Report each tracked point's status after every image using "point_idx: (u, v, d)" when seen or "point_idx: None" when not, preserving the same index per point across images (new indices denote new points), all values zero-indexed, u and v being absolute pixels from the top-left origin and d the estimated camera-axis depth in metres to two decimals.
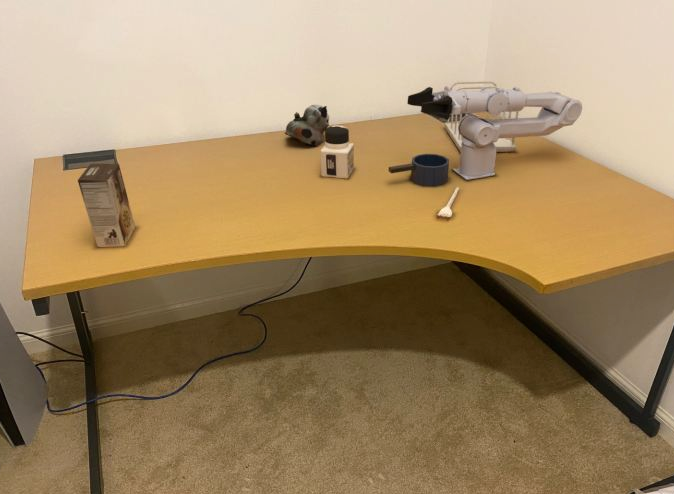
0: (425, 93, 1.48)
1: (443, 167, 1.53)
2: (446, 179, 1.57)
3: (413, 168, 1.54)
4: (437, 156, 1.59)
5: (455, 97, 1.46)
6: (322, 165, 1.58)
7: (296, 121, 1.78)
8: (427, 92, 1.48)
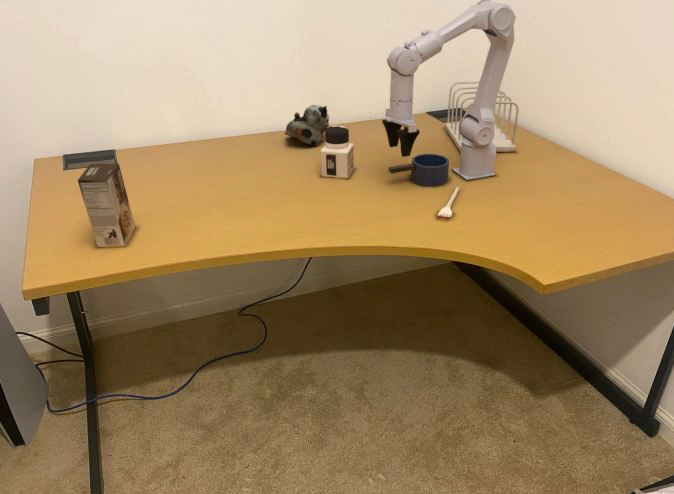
0: (388, 130, 1.51)
1: (443, 167, 1.53)
2: (446, 179, 1.57)
3: (413, 168, 1.54)
4: (437, 156, 1.59)
5: (397, 115, 1.43)
6: (322, 165, 1.58)
7: (296, 121, 1.78)
8: (387, 128, 1.50)
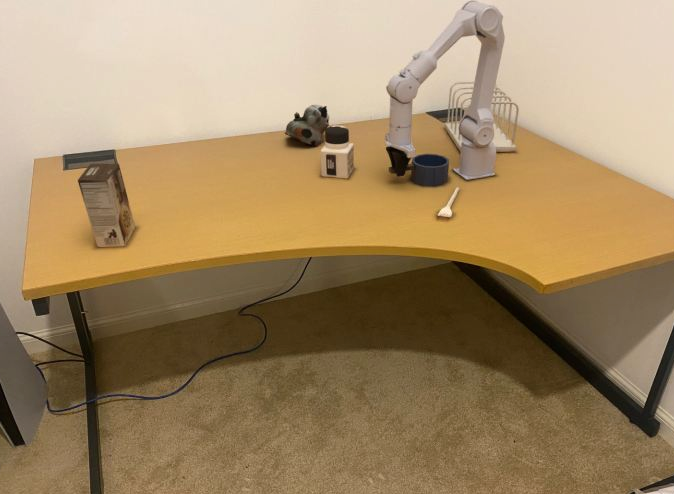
0: (392, 157, 1.52)
1: (443, 167, 1.53)
2: (446, 179, 1.57)
3: (413, 168, 1.54)
4: (437, 156, 1.59)
5: (397, 140, 1.47)
6: (322, 165, 1.58)
7: (296, 121, 1.78)
8: (391, 155, 1.52)
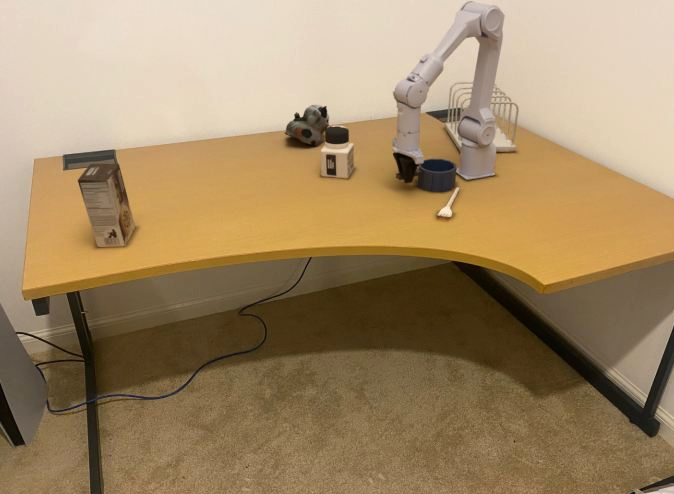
0: (399, 163, 1.49)
1: (451, 172, 1.50)
2: (454, 184, 1.54)
3: (421, 174, 1.51)
4: (443, 161, 1.56)
5: (404, 146, 1.43)
6: (322, 165, 1.58)
7: (296, 121, 1.78)
8: (398, 161, 1.48)
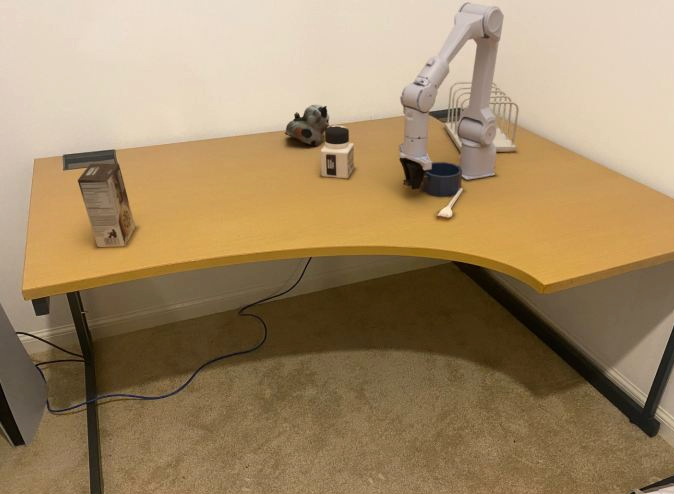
0: (406, 168, 1.46)
1: (458, 175, 1.48)
2: (460, 187, 1.52)
3: (427, 179, 1.48)
4: (446, 164, 1.54)
5: (412, 151, 1.40)
6: (322, 165, 1.58)
7: (296, 121, 1.78)
8: (405, 166, 1.45)
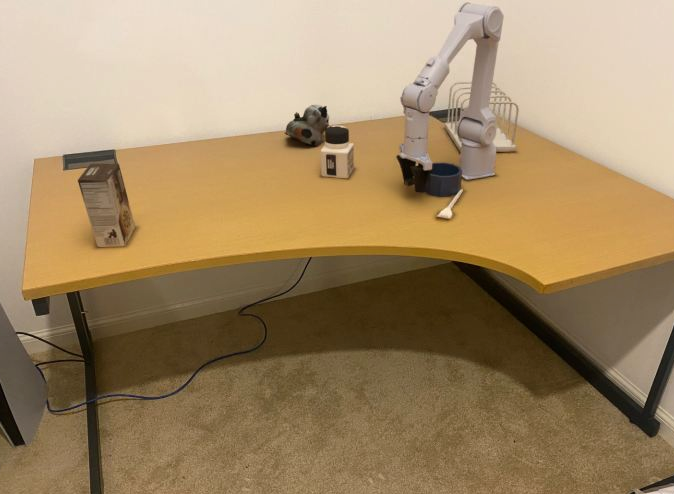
0: (403, 166, 1.47)
1: (458, 175, 1.48)
2: (460, 187, 1.52)
3: (428, 179, 1.48)
4: (446, 164, 1.54)
5: (412, 152, 1.40)
6: (322, 165, 1.58)
7: (296, 121, 1.78)
8: (402, 164, 1.47)
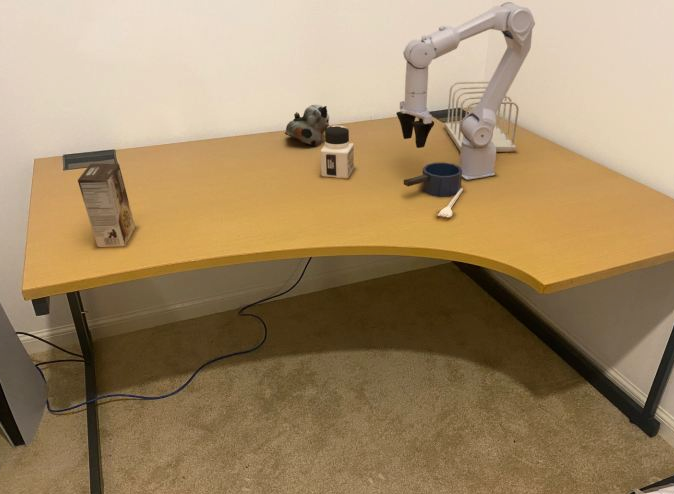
0: (403, 122, 1.54)
1: (458, 175, 1.48)
2: (460, 187, 1.52)
3: (428, 179, 1.48)
4: (446, 164, 1.54)
5: (412, 107, 1.46)
6: (322, 165, 1.58)
7: (296, 121, 1.78)
8: (402, 120, 1.53)
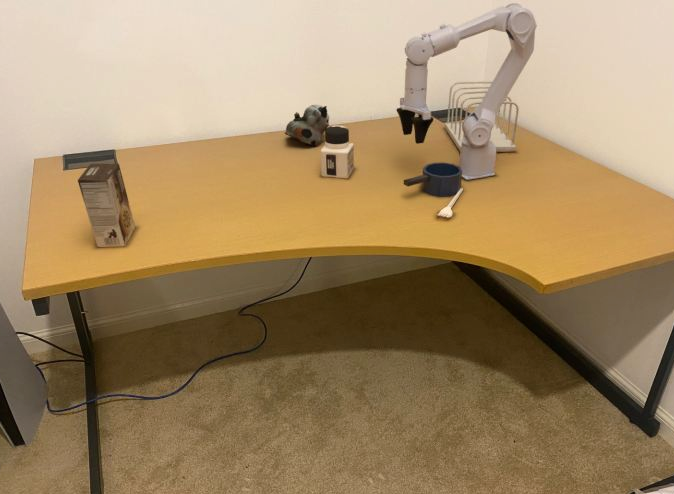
0: (402, 118, 1.56)
1: (458, 175, 1.48)
2: (460, 187, 1.52)
3: (428, 179, 1.48)
4: (446, 164, 1.54)
5: (412, 103, 1.48)
6: (322, 165, 1.58)
7: (296, 121, 1.78)
8: (402, 116, 1.56)
